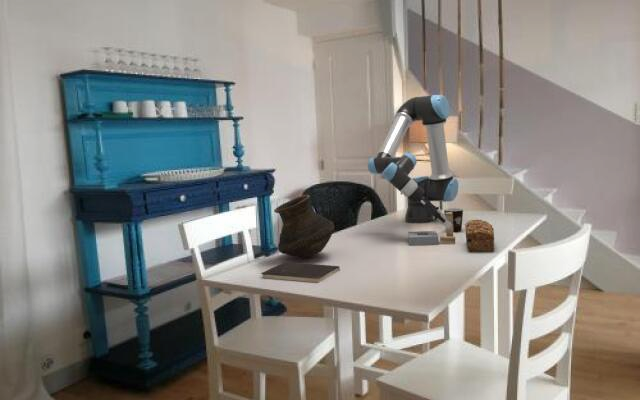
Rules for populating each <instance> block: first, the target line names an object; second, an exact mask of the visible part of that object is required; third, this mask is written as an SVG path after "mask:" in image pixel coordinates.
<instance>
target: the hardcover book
mask: <svg viewBox="0 0 640 400" xmlns="http://www.w3.org/2000/svg"><path fill="white" fill-rule="evenodd" d="M340 270H341V269H340V266H339V265H332V264H331V265H329V264H315V263H314V264H313V263H312V264H311V263H301V262H300V263H299V262H289V261H287V262H286V261H285V262H282V263H279V264H278V265H276V266H274V267H272V268H268V269H267V270H266V271H265V270H264V271H262V272H261V273H260V274H261V276H262V278H263V279H272V280H273V279H275V280H283V281H285V280H286V281H287V280H288V281H296V282H298V281H299V282H310V283H320V282H322V281H324V280H326V279H327V278H329V277H331V276H332V275H334V274H336V273H337V272H339V271H340Z"/></svg>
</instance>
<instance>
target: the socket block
mask: <svg viewBox="0 0 640 400" xmlns="http://www.w3.org/2000/svg"><path fill="white" fill-rule="evenodd" d="M407 237H408V246H411V247H412V246H434V245H436V246H437V245H439V235H438V233H437V230H423V231H408V232H407Z"/></svg>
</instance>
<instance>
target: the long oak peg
mask: <svg viewBox="0 0 640 400" xmlns="http://www.w3.org/2000/svg"><path fill="white" fill-rule="evenodd" d="M446 219H447V220H448V221H449V222H450V223H451V224H453V213H452V212H449V213H446ZM445 233H446V235H445V237H455V236H454V232H453V225H452V226H451V227H450V228H449V229H447V228H446V227H445Z"/></svg>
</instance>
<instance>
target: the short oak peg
mask: <svg viewBox="0 0 640 400" xmlns="http://www.w3.org/2000/svg"><path fill="white" fill-rule="evenodd" d="M439 243H440V244H439V245H455V244H456V236H454V237H446V236H440V237H439Z"/></svg>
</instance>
